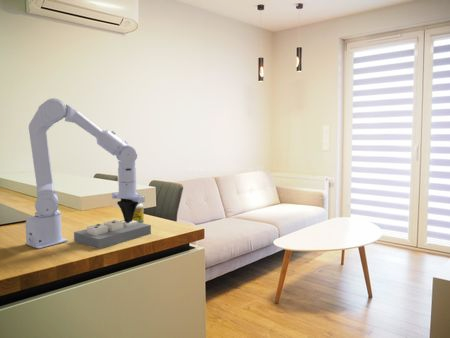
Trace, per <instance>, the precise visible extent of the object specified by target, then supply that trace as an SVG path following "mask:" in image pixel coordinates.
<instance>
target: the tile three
mask: <svg viewBox="0 0 450 338" xmlns="http://www.w3.org/2000/svg"><path fill="white" fill-rule="evenodd" d="M121 221H122V222H123V226H124V227H131V226H135V225H138V221H134V220H132V221H131V222H125V221H123V220H121Z"/></svg>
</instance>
